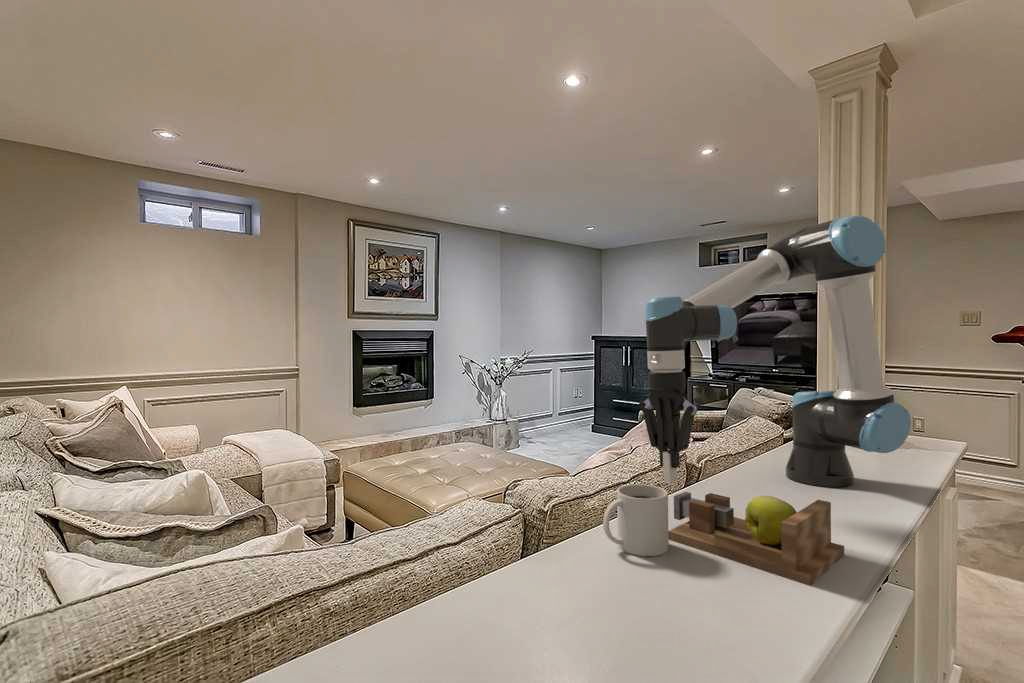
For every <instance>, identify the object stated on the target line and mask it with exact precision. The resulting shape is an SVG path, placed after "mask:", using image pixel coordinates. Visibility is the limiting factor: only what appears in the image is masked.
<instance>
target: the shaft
mask: <svg viewBox="0 0 1024 683" xmlns="http://www.w3.org/2000/svg"><path fill="white" fill-rule="evenodd" d="M693 500H698V501H702V502H706V503H710V504H714V505H715V525H716V526H719V527H723V528H728V527H730V526H731V525H733V524H734V517H735V514H734V507H731V506H730V507H727V506H723V505H719V504H715V503H711V502H707V501H705V500H701V499H698V498H695V497H694V498H693V497H692V492H690V491H689V492H688V491H684V492H681V493H679V494H676V495H674V496H673V519H675V520H677V521H678V520H679V521H681V520H683V519H685V518H688V519H689V502H690V501H693Z"/></svg>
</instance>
